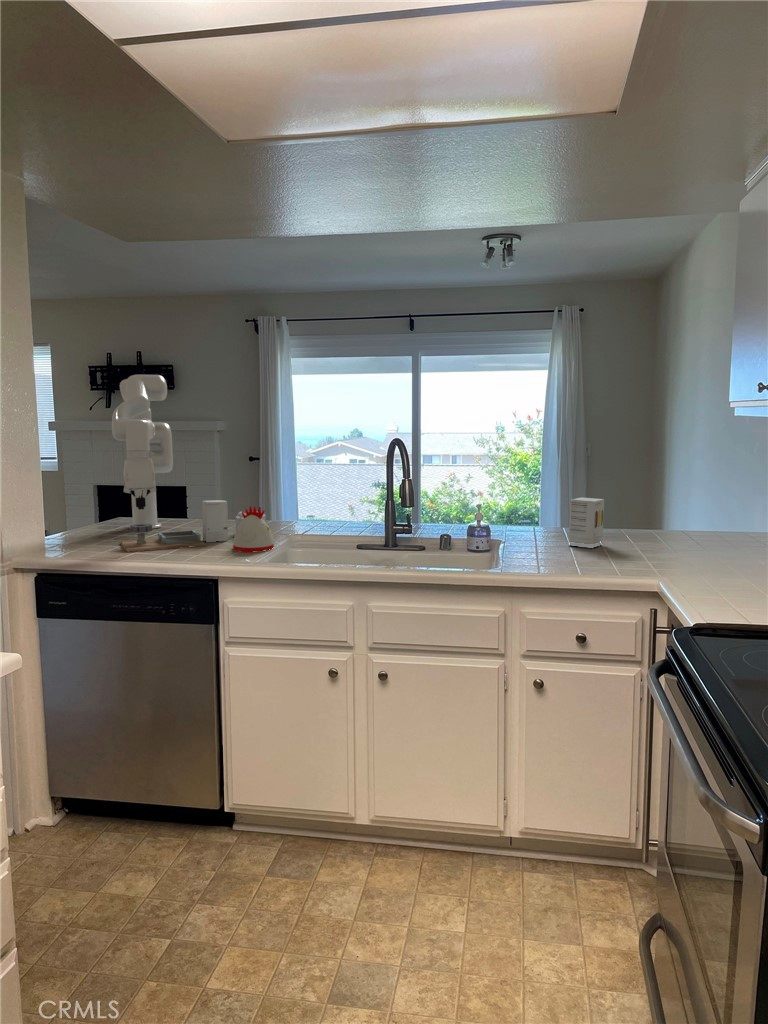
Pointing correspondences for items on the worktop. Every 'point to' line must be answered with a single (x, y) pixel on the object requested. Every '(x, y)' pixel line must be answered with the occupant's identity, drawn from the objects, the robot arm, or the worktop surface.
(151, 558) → the worktop surface
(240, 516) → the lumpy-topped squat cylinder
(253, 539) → the white red crested helmet
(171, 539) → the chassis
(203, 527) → the skincare box
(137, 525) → the wheel
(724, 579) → the worktop surface
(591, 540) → the supplement box
